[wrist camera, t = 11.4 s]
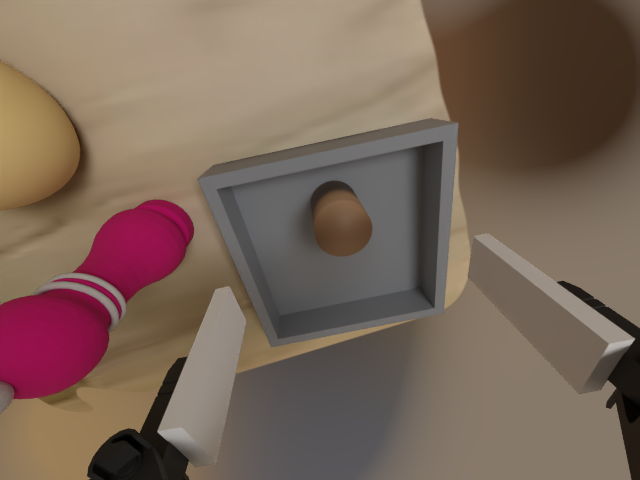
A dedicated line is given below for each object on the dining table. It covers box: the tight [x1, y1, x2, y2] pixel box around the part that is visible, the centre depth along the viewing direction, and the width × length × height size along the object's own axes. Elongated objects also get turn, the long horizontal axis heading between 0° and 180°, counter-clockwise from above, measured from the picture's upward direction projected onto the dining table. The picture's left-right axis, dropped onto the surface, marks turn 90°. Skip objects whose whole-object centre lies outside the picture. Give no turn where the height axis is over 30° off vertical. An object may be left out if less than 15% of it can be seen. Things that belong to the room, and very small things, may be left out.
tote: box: [198, 118, 458, 347], centre depth 29 cm, size 22×22×5 cm
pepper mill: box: [0, 200, 194, 413], centre depth 20 cm, size 7×7×20 cm
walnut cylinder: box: [311, 180, 372, 257], centre depth 25 cm, size 5×5×7 cm
